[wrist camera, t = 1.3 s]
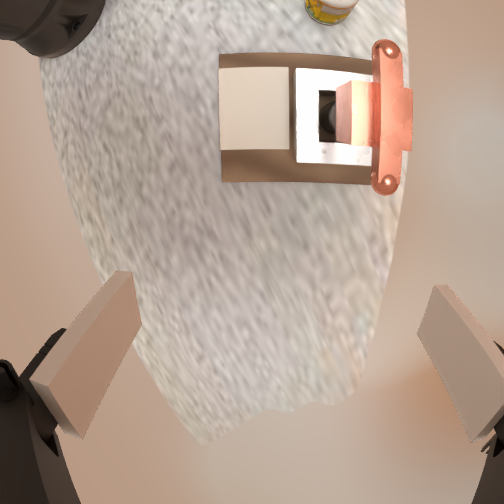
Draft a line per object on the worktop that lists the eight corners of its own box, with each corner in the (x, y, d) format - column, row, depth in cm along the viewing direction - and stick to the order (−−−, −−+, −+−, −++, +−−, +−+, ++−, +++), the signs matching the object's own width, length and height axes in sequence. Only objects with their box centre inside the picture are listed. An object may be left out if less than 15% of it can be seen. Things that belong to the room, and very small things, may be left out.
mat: (219, 69, 30) (218, 68, 30) (288, 68, 30) (288, 67, 29) (221, 149, 34) (220, 150, 34) (288, 149, 34) (289, 149, 33)
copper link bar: (315, 73, 30) (357, 30, 14) (353, 76, 30) (421, 43, 13) (315, 162, 34) (356, 197, 18) (352, 163, 34) (418, 200, 18)
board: (220, 56, 30) (219, 54, 30) (374, 62, 29) (377, 61, 28) (223, 180, 37) (222, 182, 36) (372, 183, 36) (374, 185, 35)
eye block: (292, 75, 30) (296, 68, 26) (374, 83, 30) (389, 78, 25) (293, 157, 34) (296, 162, 30) (372, 161, 34) (387, 167, 29)
